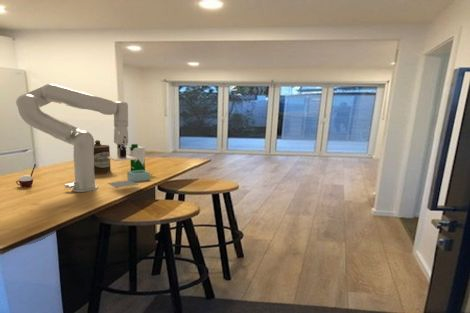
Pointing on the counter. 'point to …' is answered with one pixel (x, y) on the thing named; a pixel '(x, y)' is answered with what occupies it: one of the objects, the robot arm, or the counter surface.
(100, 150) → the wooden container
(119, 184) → the mat
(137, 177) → the dish
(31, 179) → the cocoa
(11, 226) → the counter surface
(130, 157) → the lid
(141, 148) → the milk carton
